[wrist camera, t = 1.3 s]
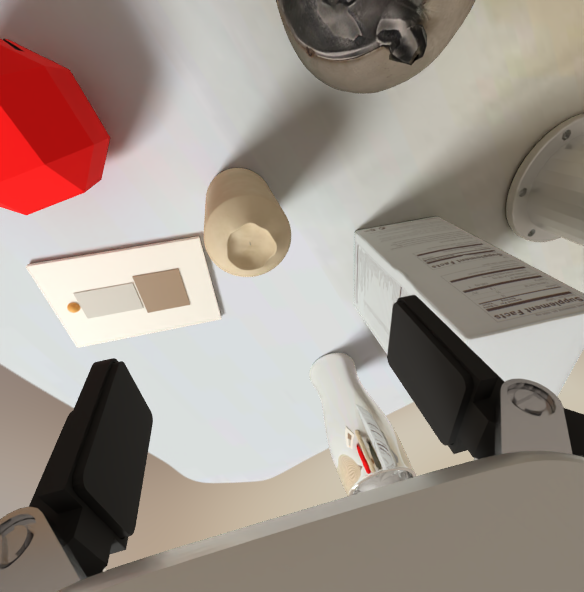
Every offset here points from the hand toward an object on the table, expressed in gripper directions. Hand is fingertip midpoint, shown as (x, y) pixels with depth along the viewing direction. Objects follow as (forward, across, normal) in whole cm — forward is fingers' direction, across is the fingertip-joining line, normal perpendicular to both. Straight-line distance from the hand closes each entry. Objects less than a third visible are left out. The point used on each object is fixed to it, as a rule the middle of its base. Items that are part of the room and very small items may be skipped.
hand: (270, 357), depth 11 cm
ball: (+20, +12, -7) cm, 24 cm away
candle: (+20, 0, 0) cm, 20 cm away
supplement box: (+19, -16, +9) cm, 26 cm away
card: (+19, +10, +7) cm, 23 cm away
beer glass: (+19, -8, +23) cm, 31 cm away
